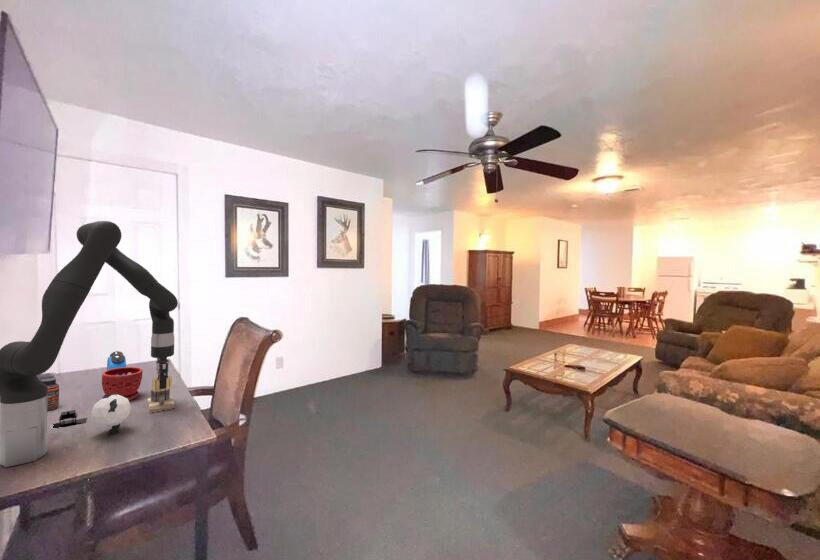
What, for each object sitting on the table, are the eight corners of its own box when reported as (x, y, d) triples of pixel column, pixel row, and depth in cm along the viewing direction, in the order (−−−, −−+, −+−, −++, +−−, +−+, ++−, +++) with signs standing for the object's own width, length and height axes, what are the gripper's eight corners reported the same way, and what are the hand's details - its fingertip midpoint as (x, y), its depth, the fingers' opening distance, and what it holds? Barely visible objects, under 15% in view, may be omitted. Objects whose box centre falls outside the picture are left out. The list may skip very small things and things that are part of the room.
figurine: (92, 426, 122) (93, 387, 122) (131, 419, 128) (131, 383, 128) (87, 448, 108) (87, 404, 108) (130, 439, 114) (131, 398, 114)
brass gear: (172, 389, 139) (172, 379, 139) (152, 392, 135) (153, 381, 135) (170, 384, 144) (170, 375, 144) (151, 387, 140) (152, 377, 140)
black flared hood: (41, 433, 117) (41, 420, 117) (44, 426, 122) (44, 412, 122) (91, 424, 125) (92, 411, 125) (92, 417, 130) (92, 405, 130)
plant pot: (99, 407, 138) (100, 377, 138) (103, 397, 149) (103, 368, 148) (141, 401, 146) (142, 372, 145) (142, 391, 156) (142, 364, 156)
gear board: (174, 408, 139) (175, 393, 139) (149, 413, 134) (149, 397, 134) (170, 398, 150) (171, 384, 150) (147, 401, 145) (147, 387, 145)
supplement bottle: (44, 412, 131) (44, 382, 131) (31, 411, 132) (32, 381, 132) (62, 407, 137) (63, 377, 137) (51, 405, 138) (51, 376, 138)
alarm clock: (106, 382, 166) (107, 350, 166) (123, 380, 170) (124, 349, 170) (108, 390, 157) (109, 356, 156) (126, 387, 161) (127, 354, 161)
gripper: (176, 346, 136) (175, 389, 136) (172, 339, 147) (171, 379, 147) (152, 348, 131) (151, 393, 132) (149, 341, 142) (149, 382, 143)
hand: (162, 386), depth 140 cm, fingers closed on brass gear, 6 cm apart
